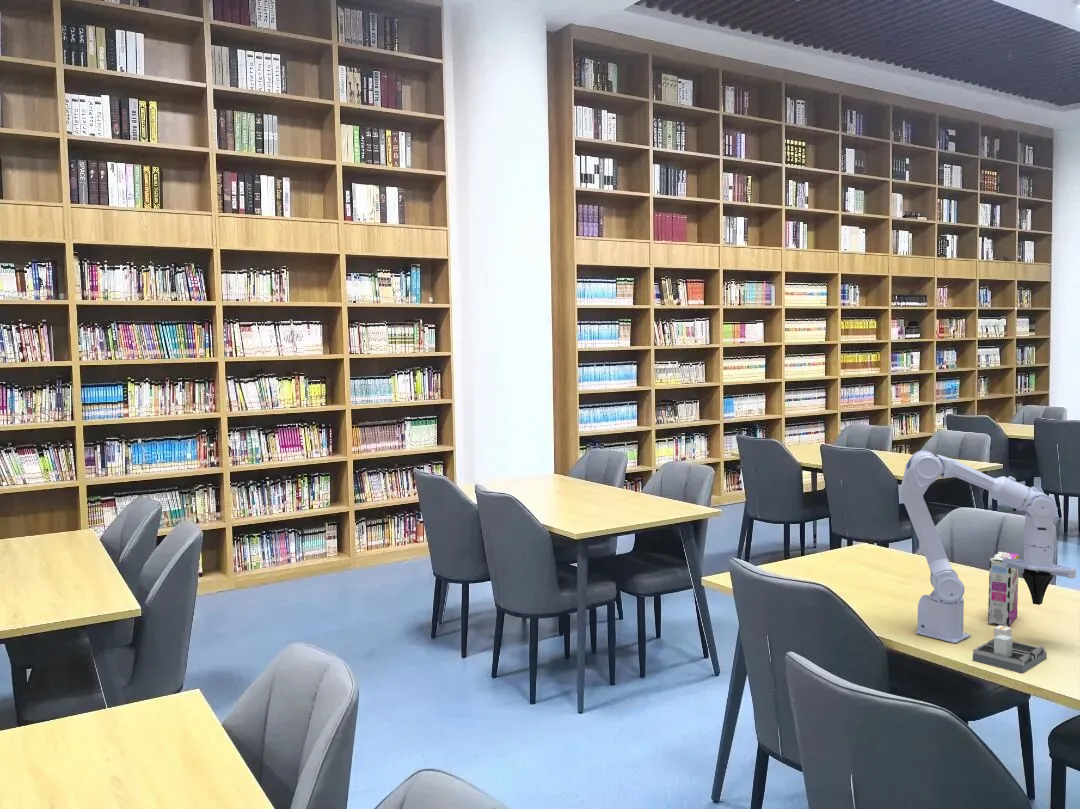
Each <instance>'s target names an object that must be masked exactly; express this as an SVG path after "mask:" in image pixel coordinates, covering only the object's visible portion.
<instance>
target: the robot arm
mask: <svg viewBox="0 0 1080 809" xmlns="http://www.w3.org/2000/svg"><path fill="white" fill-rule="evenodd" d="M940 477H942V479H949V478H950V479H951V478H958V479H959V480H963V481H965V482H967V483H970V484H972V485H974V486H977V487H979V488H981V489H984V490H986V491H988V493H989V495H990V497H991V499H992V500H996V501H998V502H1000V503H1001V504H1004V505H1006V506H1009V507H1011V508H1013V509H1016V510H1018V511H1024V517H1025V518H1024V519H1025V520H1024V527H1023V528H1024V532H1023V534H1024V535H1023V536H1024V537H1023V538H1024V539H1023V559H1021V558H1019V559H1010V558H1004V559H1003V560H1002V567H1004V568H1014V569H1019V571H1020V570H1022V571H1023V572H1022V574H1021V575H1022V576H1021V577H1022V578H1023V579H1024V581H1025V583H1026V585H1027V588H1028V590H1029V593H1030V598H1031V601H1032V602H1031V603H1032V604H1033V605H1036V606H1037V605H1038V606H1041V605H1042V604H1043V601H1044V597H1045V594H1046V591H1047V589H1048V587H1049V585H1050V583H1051V582H1052V580H1053V579H1054V577H1055V576H1057V577H1064V578H1067V579H1071V580H1073V579H1075V578H1076V576H1077V574H1076V573H1077V569H1076V568H1072V567H1068V566H1063V565H1058V564H1055V563H1054V534H1055V533H1054V532H1055V531H1054V529H1055V528H1054V517H1055V516H1056V515H1057V513H1058V510H1059V508H1058V507H1057V504H1056V502H1055V500H1054V499H1053V498H1052V497H1051V496H1049V495H1047V494H1046V493H1044V492H1042V491H1041V490H1038V489H1037V487H1034V486H1031V487H1030V486H1028V485H1027V486H1026V485H1024V484H1023V483H1021V482H1018V481H1016V480H1017V479H1016V478H1015V477H1013V476H1011V475H1009V476H1008V477H1006V476H1004V475H1002V476H999V477H992V476H990V475H987V474H986V473H984V472H982V471H979V470H977V469H975V468H973V467H972V466H968V465H967V464H964V463H962V462H960V461H958V460H956V459H953V458H950V457H947V456H944V455H941V454H934V453H932V451H929V450H919V451H916V452H914V453H913V454H912V456H910V457H909V459H908V460H907V462H906V463H905V467H904V473H903V476H902V479H901V484H900V486H899V487H900V488H899V493H900V497H901V499H902V501H903V504H904V506H905V508H906V511H907V513H908V517H909V519H910V521H911V524H912V527H913V530H914V531H915V533H916V534H915V535H916V537H917V539H918V541H919V545H920V547H921V549H922V552H923V554H924V557H925V559H926V562H927V565H928V568H929V571H930V577H929V581H930V584H931V586H932V587H933V590H932V591H931V592H930V594H924V595H922V596H921V597H920V598H919V600H918V605H917V630H916V632H915V633H916V634H917V635H922V636H926V637H929V638H933V639H937V640H941V641H946V642H949V643H952V644H953V643H954V644H957V643H959V642H962V641H963V640H965V639H967V638H969V637H971V633H968V632H965V631H964V611H965V610H964V603H965V602H964V600H965V599H964V594H965V585H964V583H963V582H962V581H961V579H960V578H959V576H958V573H957V571H955V569H953V567H952V565H951V563H950V561H949V558H948V557H947V554H946V553H947V552H946V551H945V549H944V546H943V543H942V541H941V538H940V536H939V534H938V531H937V528H936V526H935V523H934V521H933V519H932V515H931V513H930V511H929V508H928V506H927V503H926V501H925V499H924V495H925V493H926V492H927V490H928V488H929V487H930V485H932V483H934V482H936V480H938V479H939V478H940Z"/></svg>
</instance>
